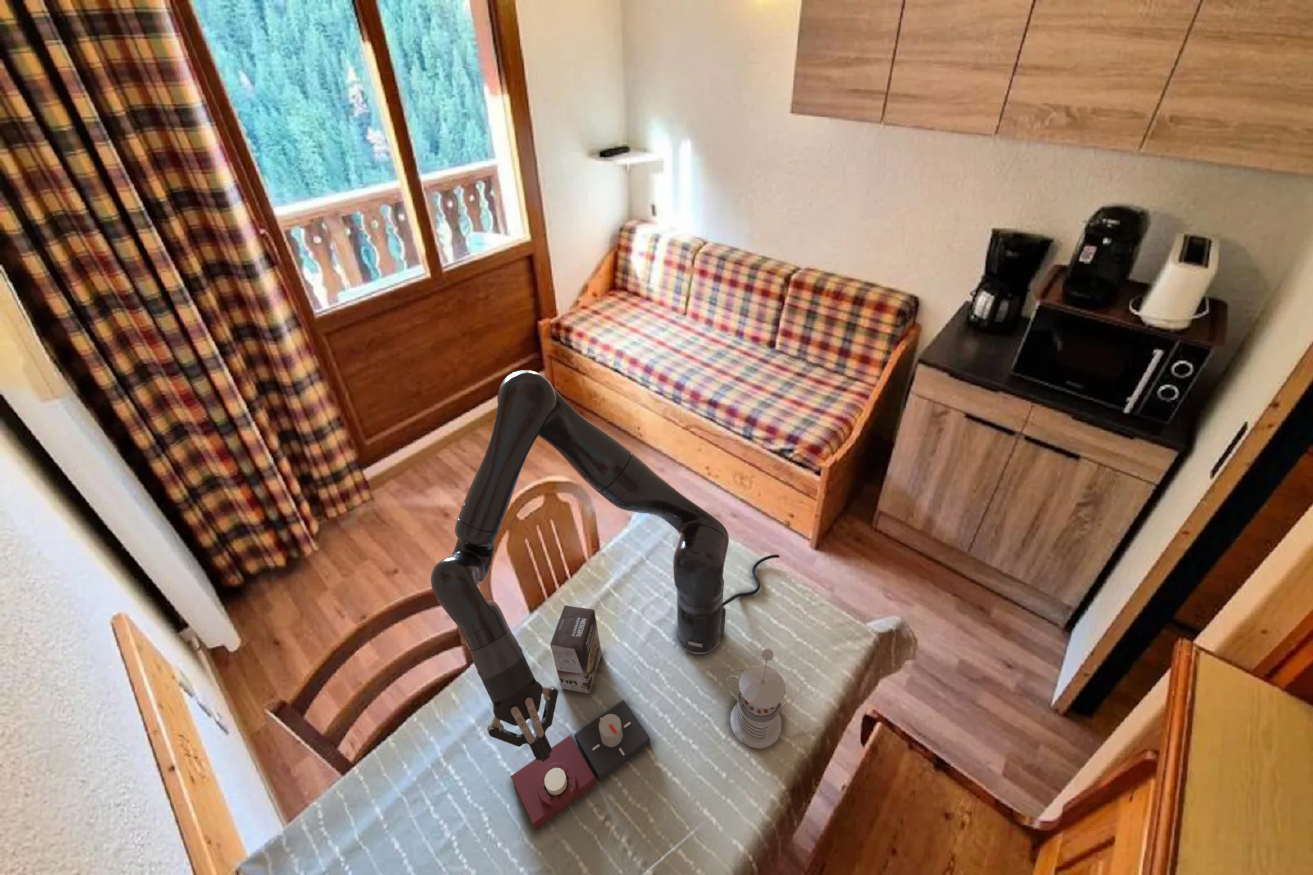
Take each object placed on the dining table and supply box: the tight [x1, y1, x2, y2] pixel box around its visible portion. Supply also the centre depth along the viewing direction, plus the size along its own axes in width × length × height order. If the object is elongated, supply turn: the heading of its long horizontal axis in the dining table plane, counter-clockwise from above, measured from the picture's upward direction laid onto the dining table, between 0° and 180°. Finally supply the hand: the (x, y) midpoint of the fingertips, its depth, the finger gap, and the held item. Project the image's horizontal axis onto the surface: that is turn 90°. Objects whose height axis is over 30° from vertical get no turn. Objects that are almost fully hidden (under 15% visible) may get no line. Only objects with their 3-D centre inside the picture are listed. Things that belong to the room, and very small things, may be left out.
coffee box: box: [549, 604, 602, 694], centre depth 114 cm, size 9×6×16 cm
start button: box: [545, 768, 567, 795], centre depth 97 cm, size 4×4×2 cm
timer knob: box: [599, 714, 623, 747], centre depth 104 cm, size 4×4×5 cm
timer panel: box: [573, 699, 651, 782], centre depth 107 cm, size 11×9×3 cm
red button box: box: [510, 734, 598, 831], centre depth 101 cm, size 12×10×5 cm
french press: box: [726, 648, 786, 749], centre depth 102 cm, size 10×12×25 cm
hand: (545, 758), depth 95 cm, fingers closed
